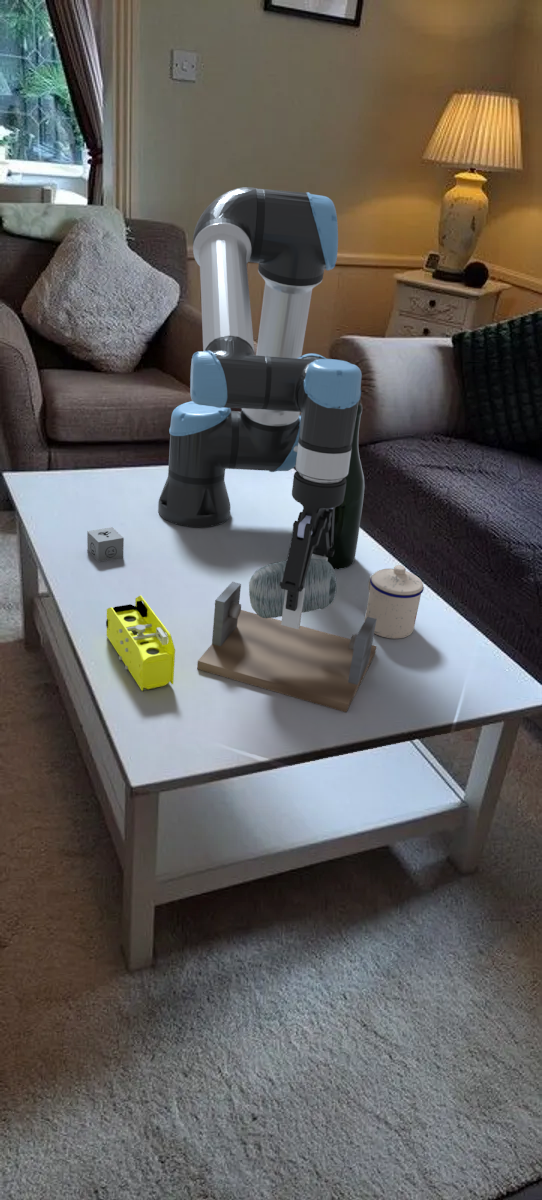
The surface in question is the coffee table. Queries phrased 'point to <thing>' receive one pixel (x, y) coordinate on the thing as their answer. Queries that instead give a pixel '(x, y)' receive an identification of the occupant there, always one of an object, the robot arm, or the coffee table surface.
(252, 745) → the coffee table surface
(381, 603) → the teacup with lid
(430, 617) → the coffee table surface
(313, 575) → the grey egg-shaped piece
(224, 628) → the roll holder
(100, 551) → the dice cube
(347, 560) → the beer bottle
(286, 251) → the robot arm
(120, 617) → the yellow toy chassis
